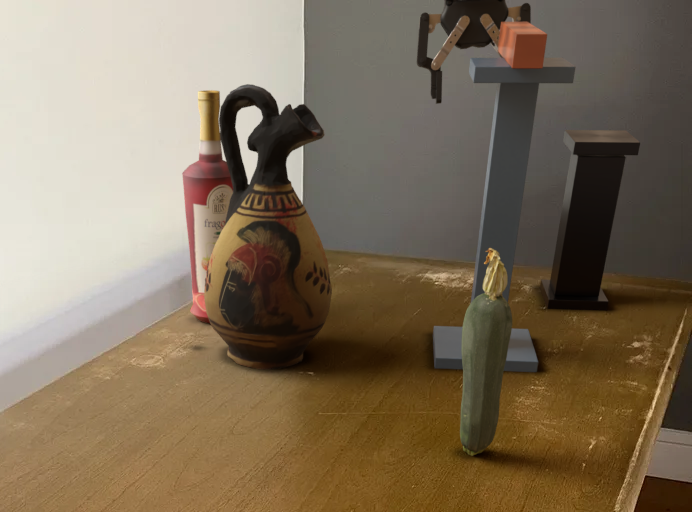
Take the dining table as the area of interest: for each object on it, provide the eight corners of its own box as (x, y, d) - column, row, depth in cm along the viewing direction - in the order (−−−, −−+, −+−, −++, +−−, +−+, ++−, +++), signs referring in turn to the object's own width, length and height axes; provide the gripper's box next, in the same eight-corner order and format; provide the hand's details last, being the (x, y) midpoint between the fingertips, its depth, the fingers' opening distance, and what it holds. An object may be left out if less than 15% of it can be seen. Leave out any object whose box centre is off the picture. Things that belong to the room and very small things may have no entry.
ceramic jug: (348, 346, 123) (361, 82, 106) (297, 387, 111) (304, 98, 95) (231, 327, 129) (226, 76, 112) (172, 364, 118) (157, 91, 101)
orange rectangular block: (497, 51, 112) (501, 21, 111) (523, 51, 112) (527, 21, 110) (511, 68, 96) (516, 33, 94) (542, 68, 96) (547, 33, 94)
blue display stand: (432, 336, 125) (460, 56, 107) (526, 340, 124) (571, 56, 106) (434, 369, 115) (465, 67, 97) (536, 373, 114) (587, 67, 96)
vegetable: (496, 468, 93) (527, 257, 82) (451, 468, 93) (477, 258, 82) (487, 448, 97) (516, 244, 86) (444, 449, 97) (467, 245, 86)
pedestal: (539, 289, 142) (564, 129, 130) (595, 291, 141) (626, 130, 129) (547, 310, 134) (575, 141, 122) (606, 312, 133) (640, 142, 121)
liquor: (201, 330, 128) (192, 96, 113) (181, 315, 134) (169, 90, 118) (250, 322, 131) (248, 92, 115) (228, 308, 136) (224, 86, 121)
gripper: (530, -46, 122) (523, 97, 128) (417, -35, 124) (415, 106, 131) (539, -57, 115) (530, 95, 122) (418, -45, 117) (417, 104, 124)
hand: (471, 100), depth 126 cm, fingers open, 8 cm apart
